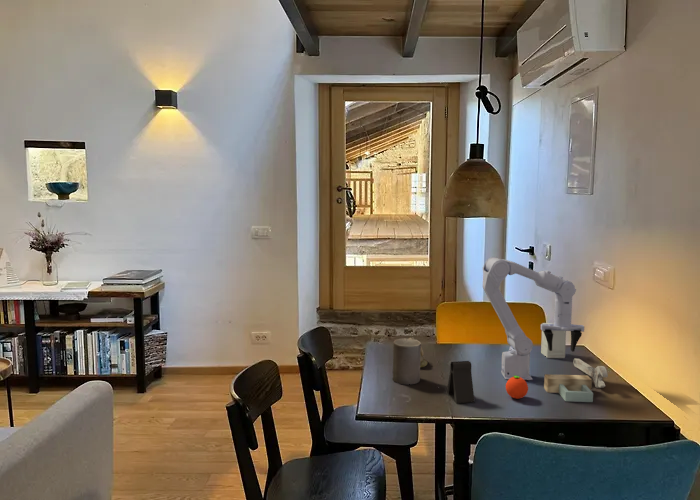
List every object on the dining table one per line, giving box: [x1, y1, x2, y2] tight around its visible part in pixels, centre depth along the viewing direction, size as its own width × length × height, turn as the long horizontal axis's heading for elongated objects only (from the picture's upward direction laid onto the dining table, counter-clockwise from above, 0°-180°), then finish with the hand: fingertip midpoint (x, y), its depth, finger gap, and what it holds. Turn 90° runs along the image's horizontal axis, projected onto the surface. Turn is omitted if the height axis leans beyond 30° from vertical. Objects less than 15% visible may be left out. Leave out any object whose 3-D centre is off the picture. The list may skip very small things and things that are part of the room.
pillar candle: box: [392, 337, 422, 386], centre depth 189 cm, size 10×10×15 cm
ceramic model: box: [408, 336, 428, 368], centre depth 209 cm, size 14×11×10 cm
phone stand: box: [446, 360, 476, 405], centre depth 173 cm, size 9×6×12 cm, turn 10°
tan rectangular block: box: [543, 374, 593, 394], centre depth 179 cm, size 14×4×5 cm, turn 85°
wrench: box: [573, 358, 609, 389], centre depth 191 cm, size 8×2×30 cm
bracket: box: [558, 384, 594, 403], centre depth 174 cm, size 8×7×3 cm
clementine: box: [505, 376, 529, 400], centre depth 174 cm, size 8×7×7 cm
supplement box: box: [540, 322, 567, 359], centre depth 217 cm, size 7×7×13 cm
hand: (561, 350), depth 193 cm, fingers open, 7 cm apart
